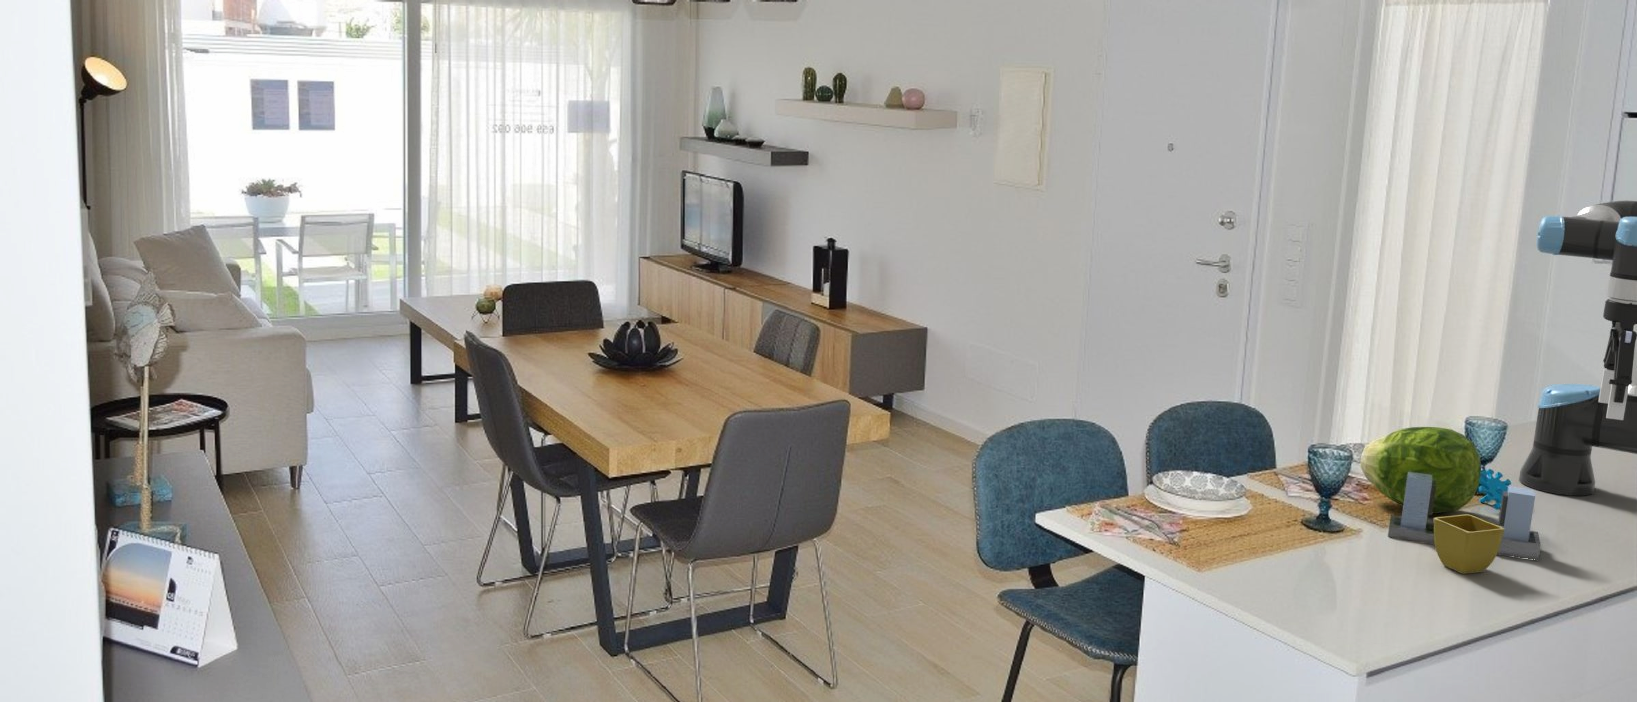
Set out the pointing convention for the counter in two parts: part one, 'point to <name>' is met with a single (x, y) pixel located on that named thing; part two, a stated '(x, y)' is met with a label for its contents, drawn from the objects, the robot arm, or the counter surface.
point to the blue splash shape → (1493, 487)
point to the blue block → (1516, 513)
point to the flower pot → (1466, 542)
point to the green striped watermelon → (1424, 464)
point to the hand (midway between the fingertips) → (1610, 410)
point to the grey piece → (1421, 530)
